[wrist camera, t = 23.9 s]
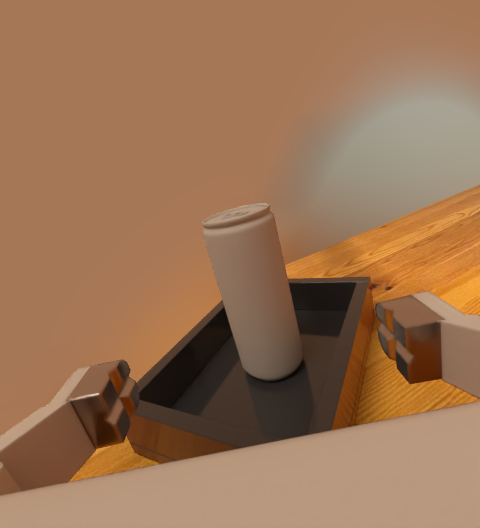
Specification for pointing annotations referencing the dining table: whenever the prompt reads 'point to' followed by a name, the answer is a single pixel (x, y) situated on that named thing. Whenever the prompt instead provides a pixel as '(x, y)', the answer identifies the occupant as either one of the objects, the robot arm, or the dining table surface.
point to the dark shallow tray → (252, 389)
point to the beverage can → (255, 289)
